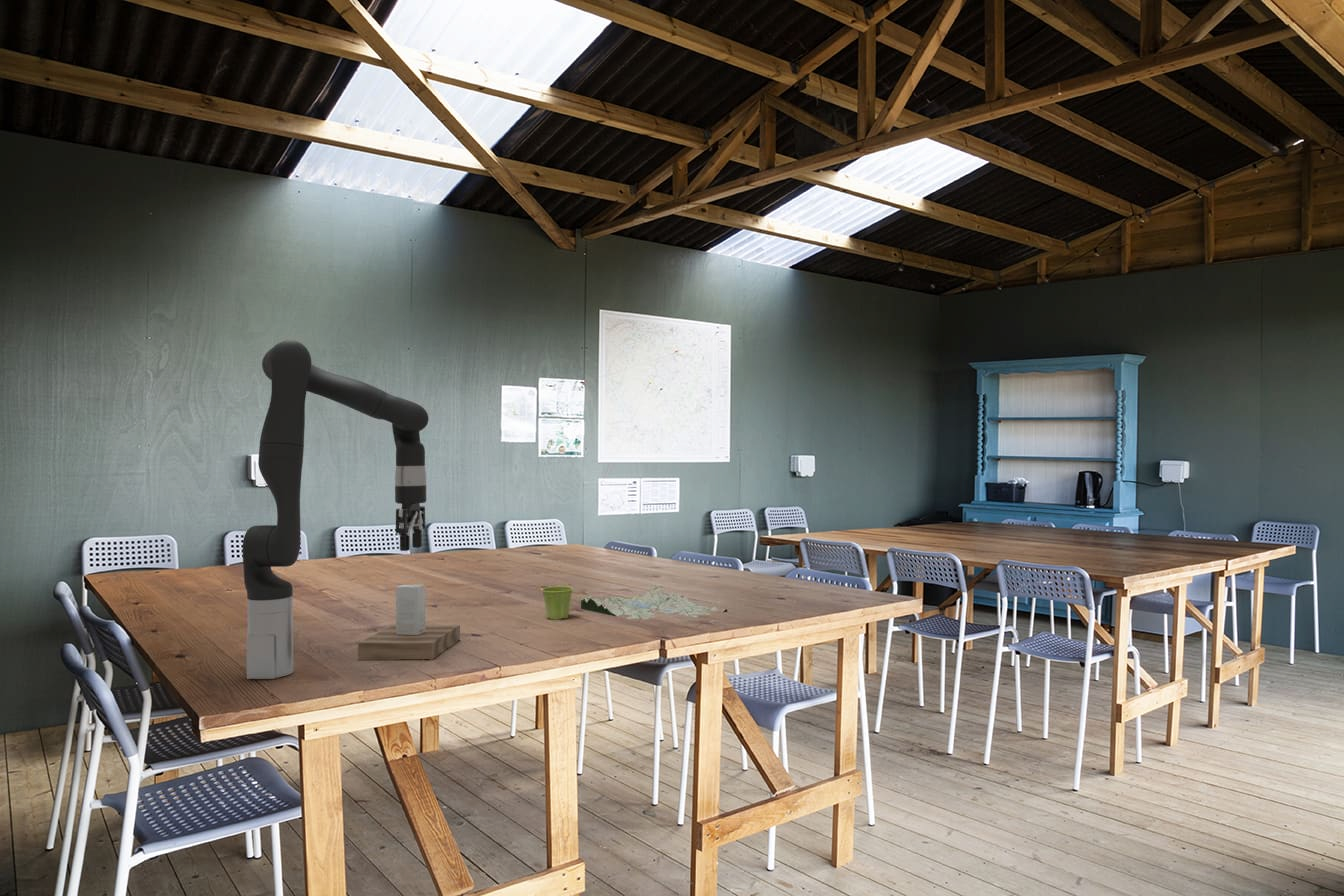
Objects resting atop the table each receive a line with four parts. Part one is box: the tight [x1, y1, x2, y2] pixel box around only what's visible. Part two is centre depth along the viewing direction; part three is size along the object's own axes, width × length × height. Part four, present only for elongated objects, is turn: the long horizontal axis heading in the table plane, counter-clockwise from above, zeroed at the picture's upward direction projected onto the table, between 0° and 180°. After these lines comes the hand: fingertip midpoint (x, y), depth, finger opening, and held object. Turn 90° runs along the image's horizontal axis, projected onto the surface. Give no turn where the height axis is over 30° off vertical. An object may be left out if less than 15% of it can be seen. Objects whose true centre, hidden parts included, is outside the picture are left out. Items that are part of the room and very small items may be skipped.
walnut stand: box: [357, 624, 461, 661], centre depth 220 cm, size 22×18×4 cm
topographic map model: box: [580, 585, 728, 621], centre depth 272 cm, size 36×29×5 cm
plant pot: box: [541, 585, 574, 621], centre depth 260 cm, size 9×9×9 cm
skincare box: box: [395, 584, 427, 635], centre depth 220 cm, size 6×4×12 cm
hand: (411, 549), depth 220 cm, fingers open, 8 cm apart
